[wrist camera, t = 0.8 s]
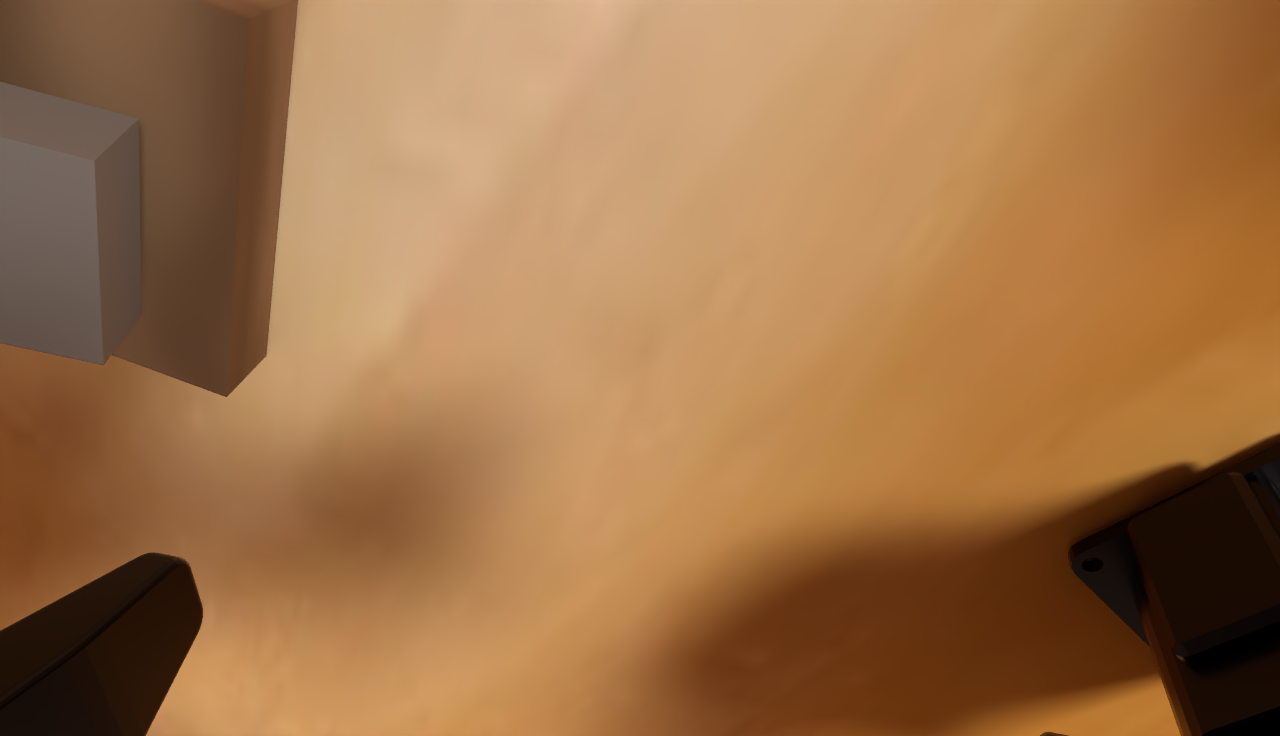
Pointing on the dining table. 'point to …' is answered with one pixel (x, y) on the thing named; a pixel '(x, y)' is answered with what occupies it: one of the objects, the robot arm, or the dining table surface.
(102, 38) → the base
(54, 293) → the lever
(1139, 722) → the dining table surface
